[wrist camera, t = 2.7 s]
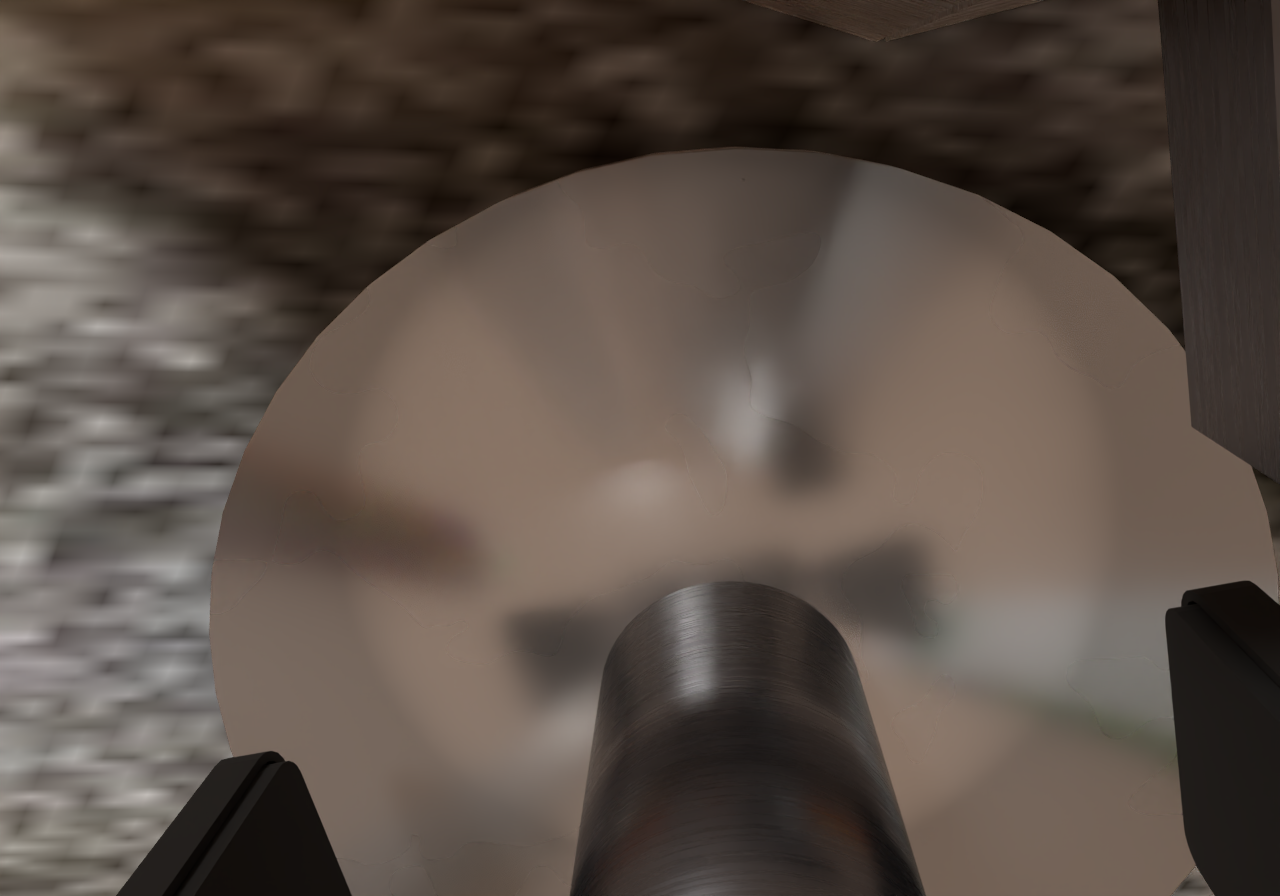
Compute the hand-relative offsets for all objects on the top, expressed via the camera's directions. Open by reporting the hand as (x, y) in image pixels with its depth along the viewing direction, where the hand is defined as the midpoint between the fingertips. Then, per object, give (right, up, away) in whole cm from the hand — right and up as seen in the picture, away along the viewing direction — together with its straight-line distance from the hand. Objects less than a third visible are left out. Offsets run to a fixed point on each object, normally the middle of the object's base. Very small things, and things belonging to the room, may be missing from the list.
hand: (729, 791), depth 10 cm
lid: (0, +1, +4) cm, 4 cm away
